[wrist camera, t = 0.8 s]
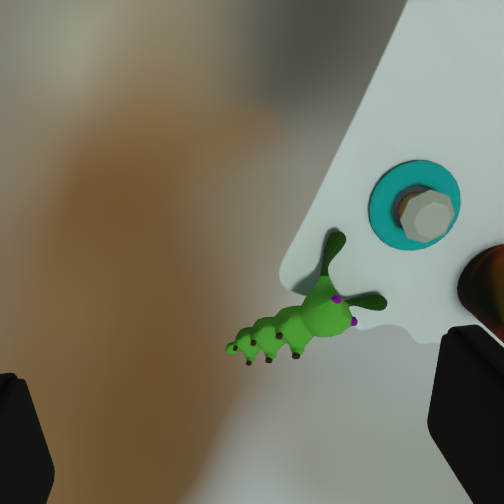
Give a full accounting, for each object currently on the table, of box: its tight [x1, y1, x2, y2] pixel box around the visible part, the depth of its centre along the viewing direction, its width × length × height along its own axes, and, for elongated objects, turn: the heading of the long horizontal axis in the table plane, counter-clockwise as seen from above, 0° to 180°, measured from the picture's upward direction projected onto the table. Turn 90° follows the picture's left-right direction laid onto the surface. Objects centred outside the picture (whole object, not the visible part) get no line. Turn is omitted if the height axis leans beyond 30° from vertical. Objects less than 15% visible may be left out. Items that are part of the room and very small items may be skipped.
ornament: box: [369, 161, 461, 251], centre depth 44 cm, size 11×4×10 cm
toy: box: [226, 231, 387, 366], centre depth 49 cm, size 12×18×10 cm
